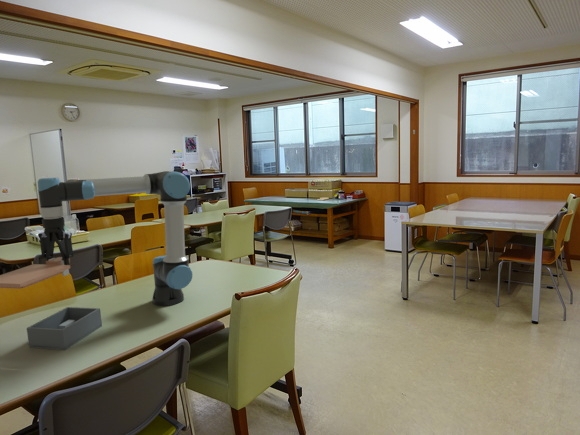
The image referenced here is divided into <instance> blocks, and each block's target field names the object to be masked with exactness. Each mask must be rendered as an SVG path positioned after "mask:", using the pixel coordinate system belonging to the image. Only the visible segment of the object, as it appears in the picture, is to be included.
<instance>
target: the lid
mask: <svg viewBox="0 0 580 435" xmlns="http://www.w3.org/2000/svg"><path fill="white" fill-rule="evenodd" d="M54 258H55V259H52V260H49V261H47V260H46V261H45V263H40V264H39V263H37V264H36V263H33V264H30V265H27V266H24V267H21V268H18V269H15V270H12V271H8V272H6V273H2V274H0V289H18V290H19V289H24V288H27V287H29V286H33V285H34V284H38V283H40V282H42V281H45V280H48V279H50V278H53V277H56V276H58V275H60V274H62V271H64V270H67V269H69V270H70V269H71V258H69V265H61V259H62V256H57V257H54Z"/></svg>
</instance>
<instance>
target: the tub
mask: <svg viewBox="0 0 580 435" xmlns="http://www.w3.org/2000/svg"><path fill="white" fill-rule="evenodd" d="M101 314H102V313H101V308H100V307H99V308H98V307H95V308H94V307H77V306H67V307H65V308H63V309H61V310H58V311H57V312H55V313H53V314H51V315H49V316H47V317H46V318H43V319H42V320H39V321H37V322H35V323H33V324H32V325H29V326H28V327H26V332H27V340H28V347H29V348H31V349H42V350H44V349H47V350H59V351H66V350H68V349H70V347H72V346H74V345H76V344H77V343H79V342H80V341H81V340H84V338H86V337H87V336H89V335H91V334H92V333H93V332H95V331H97V330H98V329H100V328H102V326H103V322H102V315H101Z"/></svg>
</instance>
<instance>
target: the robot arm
mask: <svg viewBox="0 0 580 435" xmlns="http://www.w3.org/2000/svg"><path fill="white" fill-rule="evenodd" d="M190 189H191V184H190V180H189V178H188V177H187V176H186V174H184V173H182V172H179V171H174V170H173V171H170V170H169V171H168V170H167V171H165V170H164V171H159V172H154V173H145V174H144V175H143V176H142V175H141V176H130V177H129V176H127V177H124V176H123V177H110V178H109V177H107V178H92V179H89V178H88V179H87V178H86V179H69V180H66V181H65V182H63V181H62V182H61V180H60V178H59V177H44V178H43V177H42V178H39V179H38V180H37V192H38V198H39V205H40V215H41V218H42V219H41V224H42V229H44V230H43V232H40V233H38V234H37V236H38V238H39V241H40V242H39V244H40V250H41V251H40V252H41V257H42V258H43V259H46V261H49V260H52V259H55V258H56V257H55V255H54V251H55V244H57V247H58V250H59V253H60V257H62V259H61V265H70V263H69V258H70V259H71V258H73V257H74V252H73V242H72V236H73V232H67V231H66V229H65V228H64V227H65V225H66V224H65V218H64V217H63V216H64V209H63V202H70V201H71V202H73V201H84V200H85V201H86V200H93V199H94V198H95V197H102V196H103V197H104V196H116V195H128V194H129V195H130V194H143V193H145V194H146V195H159V197H160V203H162V205H163V206H164V207H163V208H164V238H165V255H159V256H156V257H153V259H152V266H153V267H152V268H153V278H154V292H153V294H152V298H151V299H152V304H153V305H154V306H158V307H159V306H162V307H163V306H164V307H165V306H173V305H177V304H179V303H182V302H183V301H184V299H185V295H184V292H183V289H184V288H186V287H187V286H189V284H190V283H191V282H192V279H193V271H192V269H191V267H189V265H190V264H189V262H190V261H189V257H188V256H186V249H185V248H186V247H185V246H186V244H185V215H184V214H185V213H184V212H185V211H184V209H185V208H184V206H185V204H186V202H187V201H188V198H187V195H188V193H189V192H190ZM61 274H62V277H65V276H68V275H70V269H67V270H64V271H62V273H61Z"/></svg>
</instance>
